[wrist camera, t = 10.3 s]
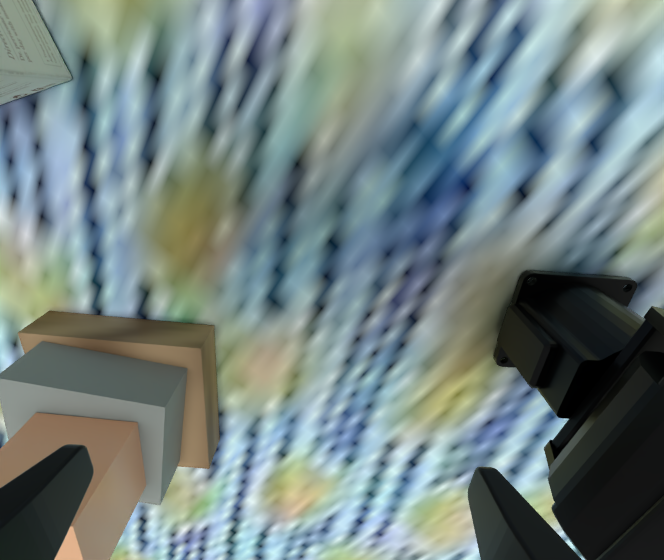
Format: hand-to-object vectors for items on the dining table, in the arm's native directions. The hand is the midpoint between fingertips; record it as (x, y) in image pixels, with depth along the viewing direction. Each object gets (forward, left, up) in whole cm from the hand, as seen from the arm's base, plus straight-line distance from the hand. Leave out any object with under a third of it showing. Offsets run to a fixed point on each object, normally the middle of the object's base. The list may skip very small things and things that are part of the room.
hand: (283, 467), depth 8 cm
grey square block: (+11, +10, -11) cm, 18 cm away
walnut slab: (+11, +10, -14) cm, 20 cm away
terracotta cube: (+11, +10, -8) cm, 17 cm away
